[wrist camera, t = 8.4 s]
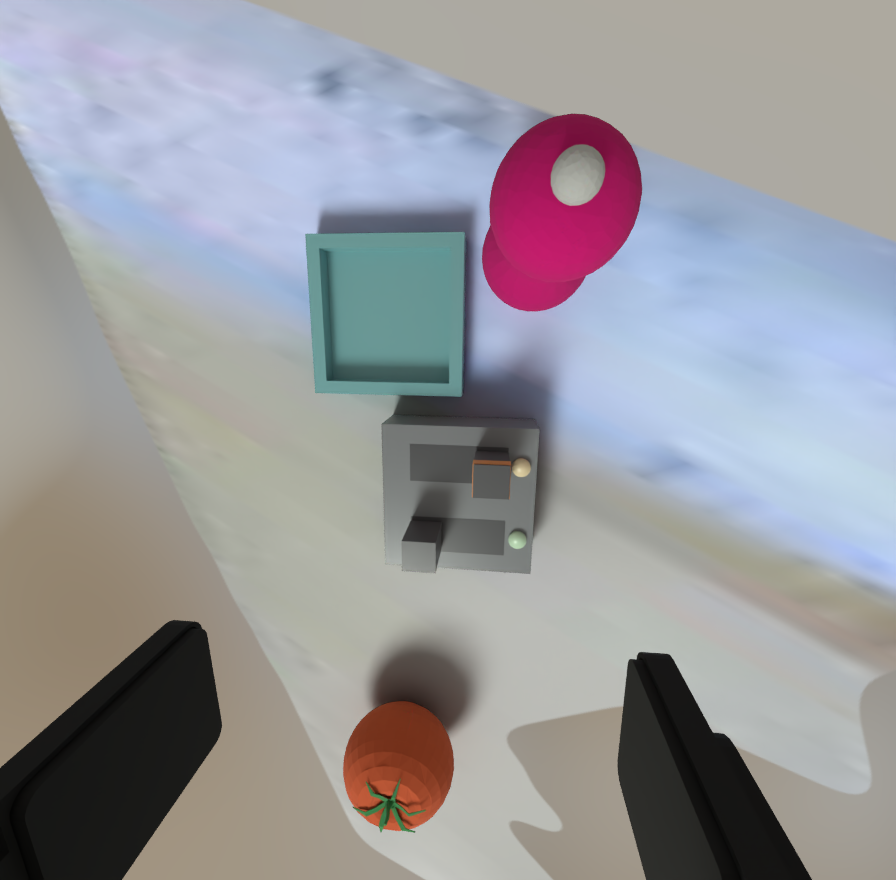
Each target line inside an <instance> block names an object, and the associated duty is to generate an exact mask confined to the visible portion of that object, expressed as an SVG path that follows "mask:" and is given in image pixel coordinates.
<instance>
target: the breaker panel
mask: <svg viewBox="0 0 896 880" xmlns="http://www.w3.org/2000/svg"><path fill="white" fill-rule="evenodd" d="M538 445H539V427H538V425H537V423H536V421H535V419H517V418H484V417H451V416H417V415H392V416H391V417H390V418H389V419H387V420H386V421H385V422H384V423H382V460H383V498H384V535H385V564H388V565H402V545H401V541H402V539H403V537H404V534H405V532H406V530H407V528H408V525H409V523H410V521H411V520H413V521H431V522H442V537H441V553H440V557H439V561H438V565H437V568H449V569H464V570H480V571H495V572H510V573H526V574H530V571H531V555H532V540H533V524H534V508H535V492H536V477H537V461H538ZM475 451H493V452H509V458H510V461H511V479H510V499H509V500H506V499H486V498H472V474H473V460H474V458H475Z"/></svg>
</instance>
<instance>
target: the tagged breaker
mask: <svg viewBox="0 0 896 880" xmlns="http://www.w3.org/2000/svg"><path fill="white" fill-rule="evenodd" d="M510 479H511V461H510V458H509V452H493V451H475V458H474V460H473V474H472V498H486V499H506V500H509V499H510Z"/></svg>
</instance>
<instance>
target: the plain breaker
mask: <svg viewBox="0 0 896 880" xmlns="http://www.w3.org/2000/svg"><path fill="white" fill-rule="evenodd" d="M441 537H442V522H431V521H413V520H411V521H410V523H409V525H408V528H407V530H406V532H405V534H404V537H403V539H402V541H401V545H402V571H411V572H426V573H436V569H437V565H438V561H439V557H440V553H441Z"/></svg>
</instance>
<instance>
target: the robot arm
mask: <svg viewBox="0 0 896 880" xmlns="http://www.w3.org/2000/svg"><path fill="white" fill-rule="evenodd" d="M221 728H222V722H221V715H220V709H219V703H218V698H217V692H216V685H215V679H214V674H213V668H212V661H211V656H210V650H209V643H208V638H207V633H206V631H205V630H203V629H202V627H201V625H200V624H199V623H198V622H191V621H178V620H173V621H169V622H168V623H166V624H165V625H164V626H163V627H161V628H160V629H159V630H158V631H157V632H156V633H154V634H153V635H152V636H151V637H150V638H149V639H148V640H146V641H145V642H144V643H143V644H142V645H141V646H140V647H138V648H137V649H136V650H135V651H134V652H133V653H132V654H130V655H129V656H128V657H127V658H126V659H125V660H124V661H122V662H121V663H120V664H119V665H118V666H117V667H115V668H114V669H113V670H112V671H111V672H110V673H109V674H108V675H106V676H105V677H104V678H103V679H102V680H101V681H100V682H98V683H97V684H96V685H95V686H94V687H93V688H92V689H90V690H89V691H88V692H87V693H86V694H85V695H83V696H82V697H81V698H80V699H79V700H78V701H76V702H75V703H74V704H73V705H72V706H71V707H70V708H68V709H67V710H66V711H65V712H64V713H63V714H62V715H60V716H59V717H58V718H57V719H56V720H55V721H54V722H52V723H51V724H50V725H49V726H48V727H47V728H46V729H44V730H43V731H42V732H41V733H40V734H39V735H38V736H36V737H35V738H34V739H33V740H32V741H31V742H29V743H28V744H27V745H26V746H25V747H24V748H23V749H21V750H20V751H19V752H18V753H17V754H16V755H15V756H13V757H12V758H11V759H10V760H9V761H8V762H7V763H5V764H4V765H3V766H2V767H1V768H0V880H122V879H123V877H124V876H125V874H126V873H127V871H128V870H129V869H130V867H131V866H132V864H133V863H134V861H135V860H136V858H137V857H138V855H139V854H140V852H141V851H142V850H143V848H144V847H145V845H146V844H147V842H148V841H149V839H150V838H151V837H152V835H153V834H154V832H155V831H156V829H157V828H158V826H159V825H160V824H161V822H162V821H163V819H164V818H165V816H166V815H167V813H168V812H169V811H170V809H171V808H172V806H173V805H174V803H175V802H176V800H177V799H178V797H179V796H180V794H181V793H182V792H183V790H184V789H185V787H186V786H187V784H188V783H189V782H190V780H191V779H192V777H193V776H194V774H195V773H196V771H197V770H198V768H199V767H200V766H201V764H202V763H203V761H204V759H205V758H206V756H207V755H208V754H209V752H210V751H211V750H212V748H213V747H214V745H215V744H216V742H217V740H218V738H219V736H220V732H221ZM618 775H619V781H620V785H621V789H622V793H623V796H624V800H625V803H626V807H627V811H628V815H629V818H630V822H631V826H632V829H633V833H634V836H635V840H636V844H637V847H638V851H639V855H640V858H641V862H642V866H643V870H644V873H645V877H646V880H812V879H811V877H810V875H809V874H808V872H807V871H806V869H805V867H804V865H803V863H802V861H801V860H800V858H799V856H798V855H797V853H796V851H795V849H794V848H793V846H792V844H791V843H790V841H789V839H788V837H787V836H786V834H785V832H784V830H783V829H782V827H781V825H780V823H779V822H778V820H777V818H776V817H775V815H774V813H773V811H772V809H771V808H770V806H769V804H768V803H767V801H766V799H765V797H764V796H763V794H762V792H761V790H760V789H759V787H758V785H757V783H756V782H755V780H754V778H753V777H752V775H751V773H750V771H749V770H748V768H747V766H746V764H745V763H744V761H743V759H742V757H741V756H740V754H739V752H738V751H737V749H736V747H735V746H734V744H733V743H732V741H731V740H730V739H729V738H728V737H727V736H726V735H725V734H721V733H713V732H712V730H711V729H710V727H709V725H708V723H707V721H706V719H705V717H704V716H703V714H702V712H701V710H700V708H699V706H698V704H697V703H696V701H695V699H694V697H693V695H692V693H691V692H690V690H689V688H688V686H687V684H686V682H685V680H684V679H683V677H682V675H681V673H680V671H679V669H678V668H677V666H676V664H675V662H674V660H673V659H672V657H671V656H670V655H669V654H661V653H646V652H640V653H638V655H637V660H635V659H630V660H629V662H628V668H627V677H626V687H625V696H624V706H623V715H622V725H621V734H620V743H619V753H618Z"/></svg>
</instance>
